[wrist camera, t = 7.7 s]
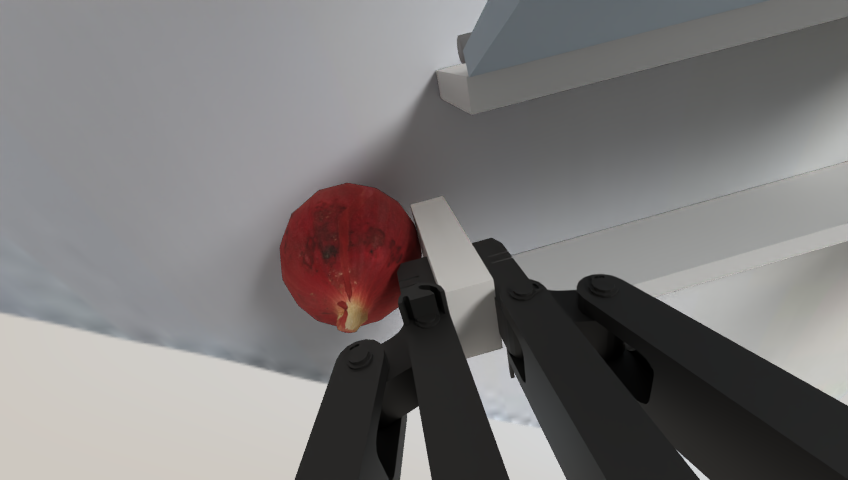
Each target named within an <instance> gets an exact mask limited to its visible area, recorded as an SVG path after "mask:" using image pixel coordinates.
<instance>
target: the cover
mask: <svg viewBox="0 0 848 480" xmlns="http://www.w3.org/2000/svg"><path fill="white" fill-rule="evenodd" d="M765 1H769V0H488V1H487V3H486V5H485V7H484V9H483V11H482V13H481V15H480V17H479V19H478V21H477V23H476V25H475V27H474V29H473V31H472V32H471V33H467V34H463V35H459V36H458V38H457V48H458V54H459V58H460V61H461V63H462V64H464V63H466V66H467V71H468V75H469V77H472V76H476V75H480V74H484V73H488V72H492V71H496V70H500V69H504V68H507V67H511V66H515V65H519V64H523V63H527V62H531V61H535V60H539V59H543V58H546V57H550V56H554V55H558V54H562V53H566V52H570V51H574V50H578V49H582V48H585V47H589V46H593V45H597V44H601V43H605V42H609V41H613V40H617V39H621V38H624V37H628V36H632V35H636V34H640V33H644V32H648V31H652V30H656V29H660V28H663V27H667V26H671V25H675V24H679V23H683V22H687V21H691V20H695V19H699V18H702V17H706V16H710V15H714V14H718V13H722V12H726V11H730V10H734V9H738V8H741V7H745V6H749V5H753V4H757V3H761V2H765Z"/></svg>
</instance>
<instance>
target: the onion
mask: <svg viewBox="0 0 848 480" xmlns="http://www.w3.org/2000/svg"><path fill="white" fill-rule="evenodd" d="M421 256H422V252H421V245H420V241H419V238H418V234H417V230H416V227H415V224H414V223H413V222H412V220H411V219H410V217H409V216H408V215H407V213H406V212H405V211H404V209H403V208H402V206H401V205H400V204H399V203H398V201H396V200H394V199H393V198H391V197H390V196H388V195H386V194H385V193H383V192H381V191H380V190H378V189H376V188H373V187H368V186H362V185H357V184H351V183H345V184H341V185H337V186H333V187H329V188H325V189H322V190H319V191H317V192H316V193H315V194H314V195H313V196H312V197H311V198H309V199H308V200H307V201H306V202H305V203H304V204H303V205H301V206H300V207H299V208H298V209H297V210H296V211H294V212H293V213H292V214H291V217H290V220H289V222H288V225H287V228H286V230H285V233H284V236H283V238H282V242H281V245H280V258H281V270H282V278H283V281H284V283H285V285H286V286H287V288H288V290H289V291H290V293H291V295H292V296H293V298H294V300H295V301H296V303H297V304H298V305H299V306H300V307H301V308H302V309H303V310H305V311H306V312H307V313H308V314H309V315H311V316H312V317H313V318H314V319H316V320H317V321H320V322H323V323H327V324H330V325H334V326H337V329H338V330H339V331H342V332H345V333H352V332H356V331H357V330H358V329H359V327H360V326H363V325H366V324H369V323H373V322H376V321H379V320H381V319H383V318H384V317H386V316H387V315H388V314H390V313H391V312H392V311H394V310H395V309H396V308H398V307H399V306H398V298H399V296H400V295H401V292H400V286H399V281H398V275H397V271H398V269H399V267H400V264H401V263H404V262H408V261H411V260H415V259H419V258H421Z"/></svg>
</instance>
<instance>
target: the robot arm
mask: <svg viewBox="0 0 848 480" xmlns="http://www.w3.org/2000/svg"><path fill="white" fill-rule="evenodd" d="M410 205H411V209H412V213H413V217H414V221H415V225H416V229H417V233H418V237H419V241H420V245H421V249H422V254H423V258H419V259H415V260H411V261H408V262H404V263H401V264H400V267H399V269H398V271H397V275H398V281H399V286H400V292H401V295H400V296H399V298H398V306H399V310H400V313H401V316H402V319H403V322H404V325H403V327H402V328H401V330H400V331H399V332H398V333H397V334H396V335H395V336H394V337H392V338H391V339H389V340H387V341H386V342H384V343H382V344H380V343H379V342H377V341H375V340H367V339H365V340H361V341H357V342H355V343H353V344H351V345H349V346H347V347H346V348H345V349H344V350H343V351H342V352H341V353H340V355H339V357H338V358H337V360H336V363H335V366H334V369H333V371H332V374H331V377H330V380H329V383H328V386H327V389H326V391H325V395H324V397H323V400H322V403H321V406H320V409H319V412H318V415H317V417H316V420H315V423H314V426H313V429H312V432H311V434H310V437H309V440H308V443H307V446H306V449H305V452H304V454H303V458H302V460H301V463H300V466H299V469H298V472H297V474H296V478H295V480H400V475H401V466H402V457H403V447H404V440H405V431H406V422H407V413H409V412H410V411H412V410H413V409H415V408H416V407H418V406H419V409H420V415H421V421H422V426H423V432H424V437H425V443H426V449H427V454H428V460H429V466H430V471H431V477H432V480H509V477H508V474H507V471H506V469H505V466H504V463H503V460H502V457H501V455H500V452H499V449H498V447H497V444H496V441H495V438H494V435H493V432H492V430H491V427H490V424H489V421H488V418H487V416H486V413H485V410H484V407H483V405H482V402H481V399H480V396H479V393H478V391H477V388H476V385H475V382H474V380H473V377H472V374H471V371H470V368H469V366H468V363H467V360H466V358H470V357H473V356H477V355H480V354H484V353H487V352H491V351H494V350H498V349H501V348H503V347H502V340H503V341H504V343H505V345H506V347H507V354H508V362H509V370H510V375H511V378H514V377H515V376H514V373H515V375H516V377H517V379H518V381H519V383H520V385H521V387H522V389H523V391H524V393H525V395H526V397H527V399H528V401H529V403H530V405H531V407H532V410H533V412H534V414H535V416H536V418H537V420H538V422H539V424H540V426H541V428H542V430H543V432H544V434H545V436H546V438H547V440H548V442H549V444H550V446H551V448H552V450H553V452H554V455H555V457H556V459H557V461H558V463H559V465H560V467H561V469H562V471H563V473H564V475H565V477H566V479H567V480H700V479H699V478H698V477H697V476H696V474H695V473H694V472H693V471H692V469H691V468H690V467H689V466H688V464H687V463H686V462H685V461H684V459H683V458H682V457H681V456H680V454H679V453H678V452H677V451H679V452H680V453H681V454H682V455H683V456H684V457H685V458H686V459H687V460H689V461H690V462H691V463H692V464H693V465H694V466H695V467H696V468H698V469H699V470H700V471H701V472H702V473H703V474H704V475H705V476H706V477H708V478H709V479H710V480H848V406H847V405H845V404H844V403H842V402H840V401H838V400H836V399H835V398H833V397H831V396H829V395H827V394H826V393H824V392H822V391H820V390H819V389H817V388H815V387H813V386H811V385H810V384H808V383H806V382H804V381H802V380H801V379H799V378H797V377H795V376H794V375H792V374H790V373H788V372H786V371H785V370H783V369H781V368H779V367H777V366H776V365H774V364H772V363H770V362H769V361H767V360H765V359H763V358H761V357H760V356H758V355H756V354H754V353H753V352H751V351H749V350H747V349H745V348H744V347H742V346H740V345H738V344H736V343H735V342H733V341H731V340H729V339H728V338H726V337H724V336H722V335H720V334H719V333H717V332H715V331H713V330H711V329H710V328H708V327H706V326H704V325H703V324H701V323H699V322H697V321H695V320H694V319H692V318H690V317H688V316H686V315H685V314H683V313H681V312H679V311H678V310H676V309H674V308H672V307H670V306H669V305H667V304H665V303H663V302H662V301H660V300H658V299H656V298H654V297H653V296H651V295H649V294H647V293H645V292H644V291H642V290H640V289H638V288H637V287H635V286H633V285H631V284H629V283H628V282H626V281H624V280H622V279H620V278H617V277H615V276H612V275H606V274H593V275H589V276H586V277H584V278H582V279H581V280H580V281H579V282H578V285H577V290H561V291H558V290H548V289H547V288H546V287H545V286H544V285H542V284H541V283H540V282H538V281H535V280H532V279H529V278H528V277H527V276H526V274H525V273H524V272H523V270H522V269H521V268H520V266H519V265H518V264H517V263H516V261H515V260H514V259H513V258H512V256H511V255H510V253H509V252H507V249H506V248H505V247H504V246H503V244H502V243H501V242H499V241H497V240H495V239H493V238H489V239H486V240H482V241H478V242H474V243H471V241H470V240H469V238H468V237H467V235H466V233H465V232H464V230H463V228H462V227H461V225H460V223H459V222H458V220H457V218H456V217H455V215H454V213H453V212H452V210H451V208H450V207H449V205H448V203H447V202H446V200H445V198H444V197H443V196H441V197H437V198H433V199H430V200H426V201H422V202H418V203H414V204H410ZM501 338H502V340H501ZM676 450H677V451H676Z"/></svg>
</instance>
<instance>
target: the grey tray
mask: <svg viewBox="0 0 848 480" xmlns="http://www.w3.org/2000/svg"><path fill="white" fill-rule="evenodd" d="M845 17H848V0H769V1H765V2H761V3H757V4H753V5H749V6H745V7H741V8H738V9H734V10H730V11H726V12H722V13H718V14H714V15H710V16H706V17H702V18H699V19H695V20H691V21H687V22H683V23H679V24H675V25H671V26H667V27H663V28H660V29H656V30H652V31H648V32H644V33H640V34H636V35H632V36H628V37H624V38H621V39H617V40H613V41H609V42H605V43H601V44H597V45H593V46H589V47H585V48H582V49H578V50H574V51H570V52H566V53H562V54H558V55H554V56H550V57H546V58H543V59H539V60H535V61H531V62H527V63H523V64H519V65H515V66H511V67H507V68H504V69H500V70H496V71H492V72H488V73H484V74H480V75H476V76H472V77H469V75H468V71H467V66H466V63H464V64H459V65H455V66H451V67H447V68H443V69H439V70H436V74H437V80H438V85H439V91H440V96H441V99H443V100H445V101H446V102H448V103H450V104H452V105H454V106H456V107H458V108H459V109H461V110H463V111H465V112H467V113H469V114H471V115H474V114H478V113H482V112H486V111H489V110H493V109H497V108H501V107H505V106H509V105H512V104H516V103H520V102H524V101H528V100H531V99H535V98H539V97H543V96H547V95H551V94H554V93H558V92H562V91H566V90H570V89H574V88H577V87H581V86H585V85H589V84H593V83H597V82H600V81H604V80H608V79H612V78H616V77H620V76H623V75H627V74H631V73H635V72H639V71H642V70H646V69H650V68H654V67H658V66H662V65H665V64H669V63H673V62H677V61H681V60H685V59H688V58H692V57H696V56H700V55H704V54H708V53H711V52H715V51H719V50H723V49H727V48H731V47H734V46H738V45H742V44H746V43H750V42H754V41H757V40H761V39H765V38H769V37H773V36H776V35H780V34H784V33H788V32H792V31H796V30H799V29H803V28H807V27H811V26H815V25H819V24H822V23H826V22H830V21H834V20H838V19H842V18H845ZM846 241H848V161H847V162H844V163H840V164H836V165H833V166H829V167H826V168H822V169H819V170H815V171H811V172H808V173H804V174H801V175H797V176H794V177H790V178H787V179H783V180H779V181H776V182H772V183H769V184H765V185H762V186H758V187H754V188H751V189H747V190H744V191H740V192H737V193H733V194H729V195H726V196H722V197H719V198H715V199H712V200H708V201H705V202H701V203H697V204H694V205H690V206H687V207H683V208H680V209H676V210H672V211H669V212H665V213H662V214H658V215H655V216H651V217H647V218H644V219H640V220H637V221H633V222H630V223H626V224H623V225H619V226H615V227H612V228H608V229H605V230H601V231H598V232H594V233H590V234H587V235H583V236H580V237H576V238H573V239H569V240H565V241H562V242H558V243H555V244H551V245H548V246H544V247H541V248H537V249H533V250H530V251H526V252H523V253H519V254H516V255H512V258H513V259H514V260H515V261H516V263H517V264H518V265H519V266H520V268H521V269H522V270H523V272H524V273H525V274H526V276H527V277H528V278H529V279H532V280H535V281H538V282H540V283H541V284H542V285H544V286H545V287H546V288H547V289H548V290H558V291H561V290H577V285H578V282H579V281H580V280H581V279H582V278H584V277H586V276H589V275H593V274H606V275H612V276H615V277H617V278H620V279H622V280H624V281H626V282H628V283H629V284H631V285H633V286H635V287H637V288H638V289H640V290H642V291H644V292H645V293H647V294H649V295H651V296H653V297H657V296H661V295H664V294H668V293H671V292H674V291H678V290H681V289H685V288H688V287H692V286H695V285H698V284H702V283H705V282H709V281H712V280H716V279H719V278H723V277H726V276H729V275H733V274H736V273H740V272H743V271H747V270H750V269H753V268H757V267H760V266H764V265H767V264H771V263H774V262H777V261H781V260H784V259H788V258H791V257H795V256H798V255H802V254H805V253H808V252H812V251H815V250H819V249H822V248H826V247H829V246H832V245H836V244H839V243H843V242H846Z"/></svg>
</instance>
